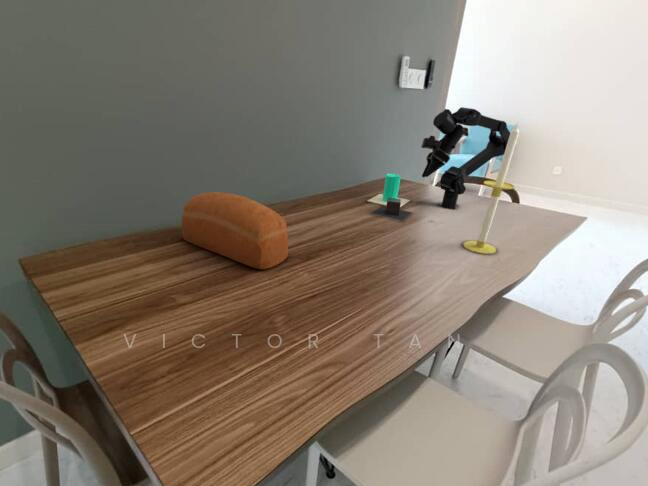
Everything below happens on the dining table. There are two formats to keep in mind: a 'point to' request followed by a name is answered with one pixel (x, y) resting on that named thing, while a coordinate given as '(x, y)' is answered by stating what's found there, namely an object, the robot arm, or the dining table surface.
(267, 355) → the dining table surface
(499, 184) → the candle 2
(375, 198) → the cream pad
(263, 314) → the dining table surface
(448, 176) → the robot arm
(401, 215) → the charcoal mat
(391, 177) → the candle
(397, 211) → the charcoal block
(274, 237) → the bread
